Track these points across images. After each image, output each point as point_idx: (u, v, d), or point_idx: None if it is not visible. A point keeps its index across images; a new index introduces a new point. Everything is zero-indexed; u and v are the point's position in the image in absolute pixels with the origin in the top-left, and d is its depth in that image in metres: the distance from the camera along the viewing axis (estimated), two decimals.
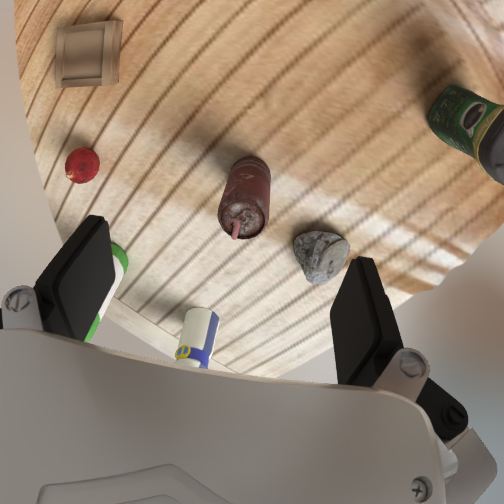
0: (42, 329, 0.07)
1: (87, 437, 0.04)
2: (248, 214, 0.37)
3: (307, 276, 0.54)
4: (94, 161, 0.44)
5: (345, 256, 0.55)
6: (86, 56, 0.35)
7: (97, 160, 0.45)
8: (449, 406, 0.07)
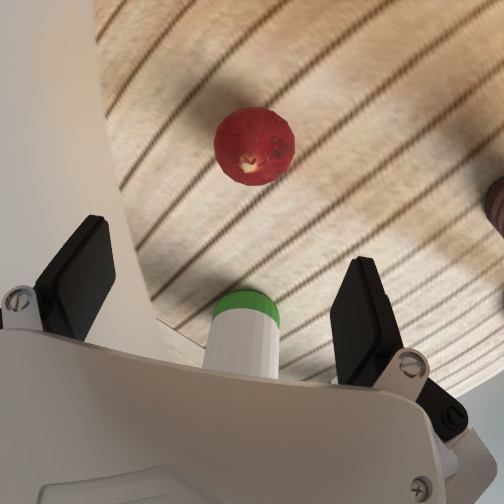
0: (42, 329, 0.07)
1: (87, 437, 0.04)
2: None
3: None
4: (293, 140, 0.21)
5: None
6: None
7: None
8: (449, 406, 0.07)
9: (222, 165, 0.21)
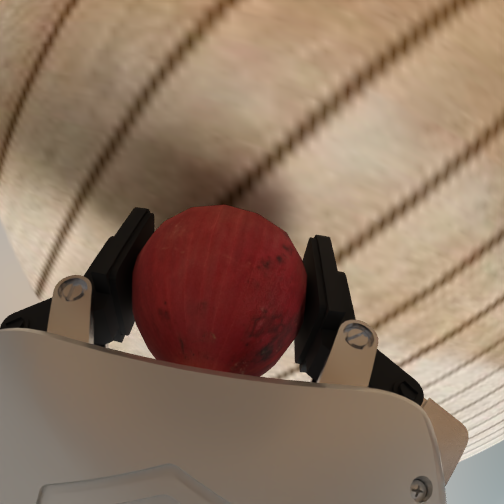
0: (89, 326, 0.07)
1: (87, 437, 0.04)
2: None
3: None
4: None
5: None
6: None
7: None
8: (402, 382, 0.08)
9: None
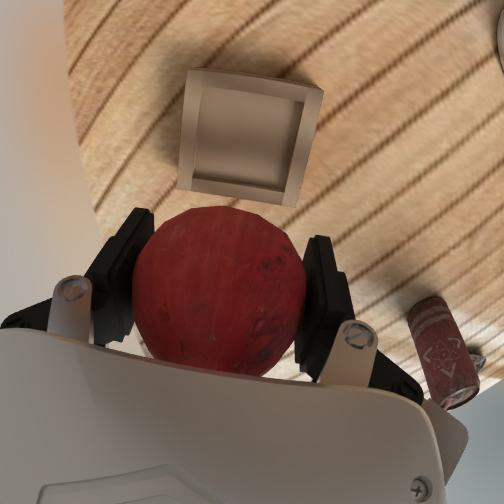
0: (89, 326, 0.07)
1: (87, 437, 0.04)
2: (465, 393, 0.27)
3: None
4: None
5: None
6: (249, 141, 0.24)
7: None
8: (402, 382, 0.08)
9: None
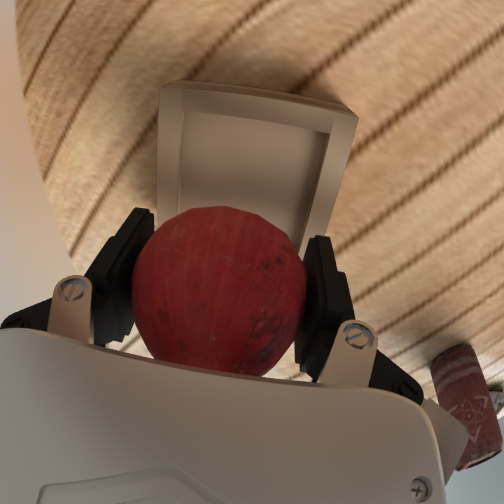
0: (89, 326, 0.07)
1: (87, 437, 0.04)
2: (486, 454, 0.20)
3: None
4: None
5: None
6: (252, 186, 0.18)
7: None
8: (402, 382, 0.08)
9: None
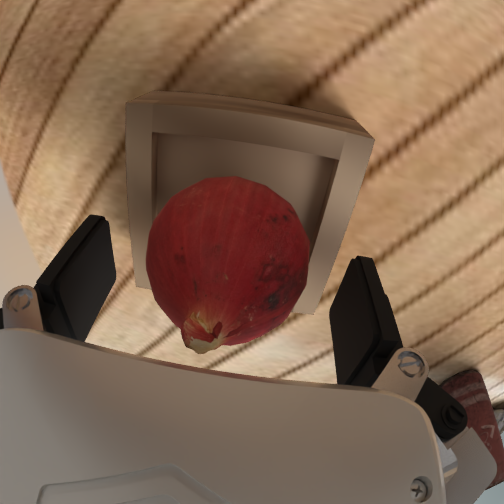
0: (43, 329, 0.07)
1: (87, 437, 0.04)
2: None
3: None
4: None
5: None
6: None
7: None
8: (448, 405, 0.07)
9: None
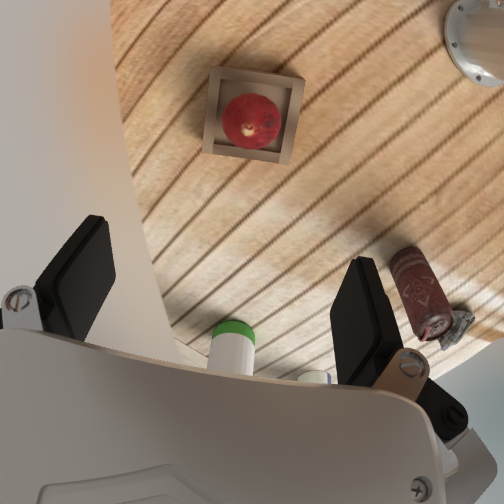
0: (42, 329, 0.07)
1: (87, 437, 0.04)
2: (441, 322, 0.35)
3: (445, 346, 0.52)
4: (280, 117, 0.29)
5: None
6: None
7: None
8: (449, 406, 0.07)
9: (228, 133, 0.29)
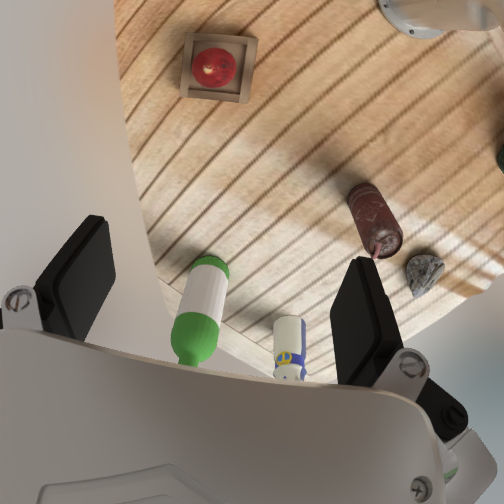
0: (42, 329, 0.07)
1: (87, 437, 0.04)
2: (389, 238, 0.42)
3: (415, 290, 0.59)
4: (235, 63, 0.36)
5: None
6: None
7: None
8: (449, 406, 0.07)
9: (195, 75, 0.35)
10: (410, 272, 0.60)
